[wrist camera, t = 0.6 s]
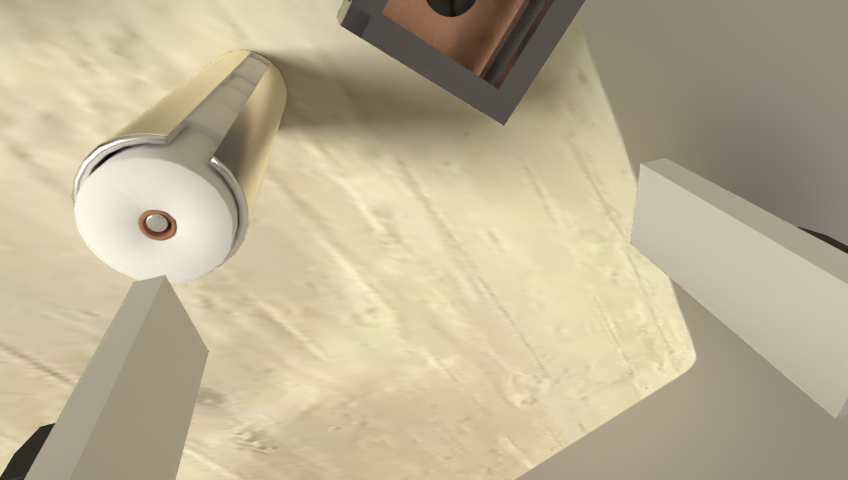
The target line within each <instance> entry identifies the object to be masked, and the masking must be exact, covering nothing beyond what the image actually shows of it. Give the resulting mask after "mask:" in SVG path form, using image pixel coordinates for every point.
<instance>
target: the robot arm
mask: <svg viewBox="0 0 848 480" xmlns="http://www.w3.org/2000/svg"><path fill="white" fill-rule="evenodd" d="M630 244H631V245H632V246H634V247H635V248H636V249H637V250H638V251H639V252H641V253H642V254H643V255H644V256H645V257H646V258H648V259H649V260H650V261H651V262H652V263H654V264H655V265H656V266H657V267H658V268H659V269H661V270H662V271H663V272H664V273H665V274H666V275H668V276H669V277H670V278H671V279H672V280H673V281H675V282H676V283H677V284H678V285H680V286H681V287H682V288H683V289H684V290H685V291H686V292H688V293H689V294H690V295H691V296H692V297H693V298H695V299H696V300H697V301H698V302H699V303H700V304H702V305H703V306H704V307H705V308H706V309H708V310H709V311H710V312H711V313H712V314H713V315H715V316H716V317H717V318H718V319H719V320H720V321H722V322H723V323H724V324H725V325H726V326H728V327H729V328H730V329H731V330H732V331H733V332H735V333H736V334H737V335H738V336H739V337H740V338H742V339H743V340H744V341H745V342H746V343H747V344H749V345H750V346H751V347H752V348H753V349H755V350H756V351H757V352H758V353H759V354H760V355H762V356H763V357H764V358H765V359H766V360H767V361H769V362H770V363H771V364H772V365H773V366H774V367H776V368H777V369H778V370H779V371H780V372H781V373H783V374H784V375H785V376H786V377H787V378H789V379H790V380H791V381H792V382H793V383H795V384H796V385H797V386H798V387H799V388H800V389H802V390H803V391H804V392H805V393H806V394H807V395H808V396H810V397H811V398H812V399H813V400H814V401H816V402H817V403H818V404H819V405H820V406H821V407H823V408H824V409H825V410H826V411H827V412H828V413H830V414H831V415H832V416H833V417H834V418H836V419H837V418H840V417H843V416H846V415H848V246H846V245H844V244H842V243H840V242H838V241H837V240H835V239H833V238H831V237H829V236H827V235H824V234H820V233H817V232H814V231H810V230H807V229H804V228H800V227H795V226H793V225H792V224H790V223H788V222H786V221H784V220H782V219H780V218H778V217H776V216H774V215H773V214H771V213H769V212H767V211H765V210H763V209H761V208H759V207H758V206H756V205H754V204H752V203H750V202H748V201H746V200H744V199H742V198H740V197H738V196H737V195H735V194H733V193H731V192H729V191H727V190H725V189H723V188H721V187H719V186H718V185H716V184H714V183H712V182H710V181H708V180H706V179H704V178H703V177H701V176H699V175H697V174H695V173H693V172H691V171H689V170H687V169H686V168H683V167H682V166H680V165H678V164H676V163H674V162H672V161H670V160H668V159H667V158H662V159H658V160H653V161H649V162H645V163H641V165H640V173H639V180H638V188H637V196H636V203H635V211H634V219H633V227H632V234H631V242H630ZM208 352H209V351H208V349H207V347H206V346H205V344H204V342H203V340H202V339H201V337H200V335H199V333H198V332H197V330H196V328H195V326H194V325H193V323H192V321H191V319H190V318H189V316H188V314H187V312H186V310H185V309H184V307H183V305H182V303H181V302H180V300H179V298H178V296H177V295H176V293H175V291H174V289H173V288H172V286H171V284H170V282H169V281H168V279H167V277H166V275H163V276H159V277H154V278H150V279H146V280H141V281H137V282H134V283H133V285H132V286H131V288H130V290H129V292H128V294H127V295H126V297H125V299H124V301H123V303H122V304H121V306H120V308H119V310H118V312H117V313H116V315H115V317H114V319H113V321H112V322H111V324H110V326H109V328H108V330H107V331H106V333H105V335H104V337H103V339H102V340H101V342H100V344H99V346H98V348H97V349H96V351H95V353H94V355H93V357H92V358H91V360H90V362H89V364H88V366H87V367H86V369H85V371H84V373H83V375H82V376H81V378H80V380H79V382H78V384H77V385H76V387H75V389H74V391H73V393H72V394H71V396H70V398H69V400H68V401H67V403H66V405H65V407H64V409H63V410H62V412H61V414H60V416H59V418H58V419H57V421H56V423H53V424H49V425H46V426H42V427H40V428H39V429H38V430H37V431H36V432H35V433H34V434H33V435H32V436H31V437H30V438H29V439H28V440H27V441H26V442H25V443H24V444H23V446H22V447H21V448H20V449H19V450H18V451H17V452H16V453H15V454H14V456H13V457H12V459H11V460H10V462H9V464H8V465H7V467H6V469H5V470H4V472H3V474H2V475H1V477H0V480H175V479H176V475H177V471H178V467H179V464H180V460H181V456H182V452H183V448H184V444H185V440H186V437H187V433H188V429H189V425H190V421H191V417H192V414H193V410H194V406H195V402H196V398H197V394H198V390H199V387H200V383H201V379H202V375H203V371H204V367H205V364H206V360H207V356H208Z"/></svg>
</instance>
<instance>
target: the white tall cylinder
mask: <svg viewBox="0 0 848 480" xmlns="http://www.w3.org/2000/svg"><path fill="white" fill-rule="evenodd" d="M286 101H287V89H286V85H285V81H284V79H283V77H282V75H281V73H280V71H279V70H278V69H277V68H276V67H275V65H274V64H273V63H272V62H271V61H269V60H268V59H266V58H265V57H263V56H262V55H259V54H257V53H254V52H252V51H244V50H238V51H230V52H228V53H226V54H224V55H222V56H220V57H219V58H217V59H216V60H215V61H213V62H212V63H210V64H209V65H208V66H206V67H205V68H204V69H202V70H201V71H199V72H198V73H197V74H195V75H194V76H193V77H191V78H190V79H189V80H187V81H186V82H184V83H183V84H182V85H180V86H179V87H178V88H176V89H175V90H173V91H172V92H171V93H169V94H168V95H167V96H165V97H164V98H163V99H161V100H160V101H158V102H157V103H156V104H154V105H153V106H152V107H150V108H149V109H148V110H146V111H145V112H143V113H142V114H141V115H139V116H138V117H137V118H135V119H134V120H132V121H131V122H130V123H128V124H127V125H126V126H124V127H123V128H122V129H120V130H119V131H117V132H116V133H115V134H113V135H112V136H111V137H109V138H108V139H106V140H105V141H104V142H102V143H101V144H100V145H98V146H97V147H96V148H95V149H94V150H93V151H92V152H91V153H90V154H89V155H87V156H86V157H85V158H84V159H83V161H82V163H81V165H80V167H79V169H78V171H77V173H76V175H75V177H74V182H73V192H72V200H73V204H74V208H75V212H74V214H75V218H76V223H77V227H78V231H79V233H80V234H81V236H82V238H83V239H84V241H85V243H86V244H87V246H88V247H89V248H90V249H91V250H92V251H93V252H94V253H95V254H96V255H97V256H98V257H99V258H100V259H101V260H102V261H103V262H105V263H106V264H108V265H109V266H111V267H112V268H114V269H115V270H117V271H118V272H120V273H123V274H125V275H128V276H130V277H133V278H135V279H137V280H146V279H150V278H154V277H159V276H163V275H166V277H167V279H168V281H169V282H170V284H179V283H184V282H188V281H193V280H196V279H198V278H200V277H202V276H204V275H206V274H208V273H210V272H211V271H213V270H214V269H215V268H217V267H219V266H221V265H222V264H223V263H225V262H226V261H227V260H228V259H230V258H231V257H232V256H233V255H235V253H236V252H237V250H238V249H239V248H240V246H241V245H242V243H243V242H244V240H245V237H246V234H247V231H248V227H249V224H250V221H251V217H252V214H253V211H254V207H255V204H256V201H257V197H258V194H259V191H260V188H261V184H262V181H263V178H264V174H265V171H266V168H267V164H268V161H269V158H270V154H271V151H272V148H273V144H274V141H275V138H276V134H277V131H278V128H279V125H280V121H281V118H282V115H283V111H284V108H285V104H286Z"/></svg>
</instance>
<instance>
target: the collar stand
mask: <svg viewBox="0 0 848 480" xmlns="http://www.w3.org/2000/svg"><path fill="white" fill-rule="evenodd" d="M584 1H585V0H344V2H343V4H342V6H341V8H340V11H339V13H338V15H337V18H338V20H339V23H340V25H341V26H342V27H344V28H346V29H347V30H349V31H350V32H352V33H354V34H355V35H357V36H359V37H360V38H362V39H363V40H365V41H367V42H368V43H370V44H372V45H373V46H375V47H377V48H378V49H380V50H381V51H383V52H385V53H386V54H388V55H390V56H391V57H393V58H395V59H396V60H398V61H399V62H401V63H403V64H404V65H406V66H408V67H409V68H411V69H413V70H414V71H416V72H417V73H419V74H421V75H422V76H424V77H426V78H427V79H429V80H431V81H432V82H434V83H435V84H437V85H439V86H440V87H442V88H444V89H445V90H447V91H449V92H450V93H452V94H453V95H455V96H457V97H458V98H460V99H462V100H463V101H465V102H467V103H468V104H470V105H471V106H473V107H475V108H476V109H478V110H480V111H481V112H483V113H485V114H486V115H488V116H489V117H491V118H493V119H494V120H496V121H498V122H499V123H501V124H503V125H505V123H506V122H507V120H508V119H509V117H510V115H511V114H512V112H513V111H514V109H515V108H516V106H517V105H518V103H519V102H520V100H521V98H522V97H523V95H524V94H525V92H526V91H527V89H528V88H529V86H530V85H531V83H532V82H533V80H534V78H535V77H536V75H537V74H538V72H539V71H540V69H541V68H542V66H543V65H544V63H545V61H546V60H547V58H548V57H549V55H550V54H551V52H552V51H553V49H554V48H555V46H556V45H557V43H558V41H559V40H560V38H561V37H562V35H563V34H564V32H565V31H566V29H567V28H568V26H569V24H570V23H571V21H572V20H573V18H574V17H575V15H576V14H577V12H578V11H579V9H580V8H581V6H582V4H583V3H584Z"/></svg>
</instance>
